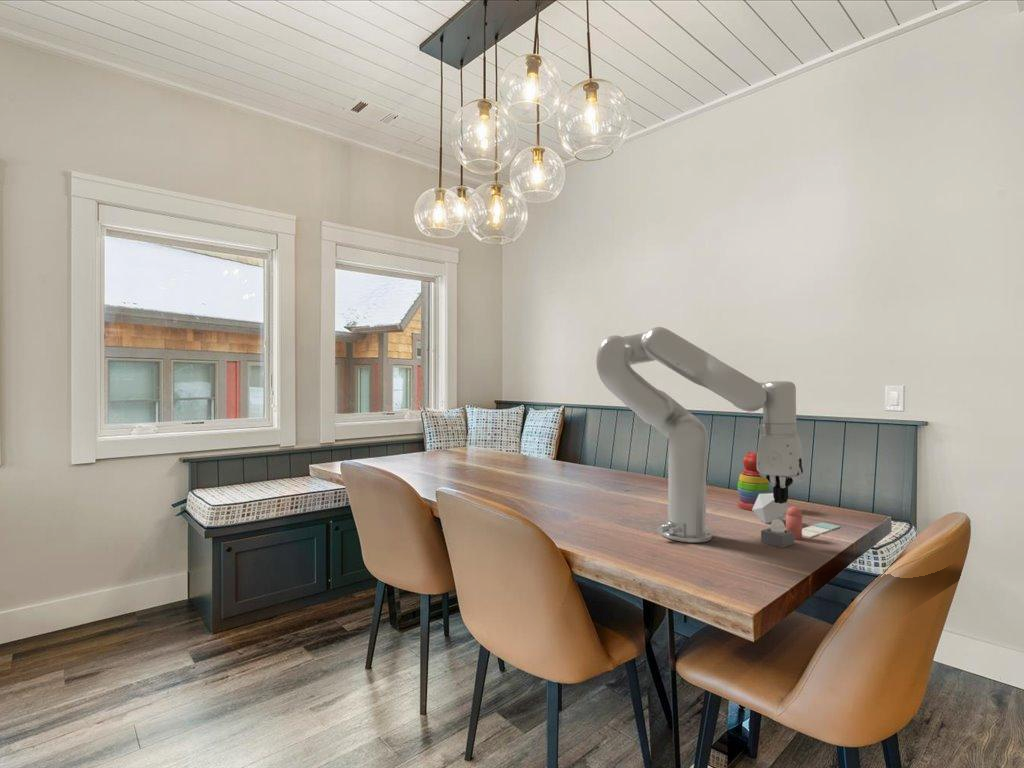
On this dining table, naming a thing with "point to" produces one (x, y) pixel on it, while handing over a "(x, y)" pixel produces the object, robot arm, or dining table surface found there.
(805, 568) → the dining table surface
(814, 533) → the track
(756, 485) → the stacking bear
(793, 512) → the pawn
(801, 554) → the dining table surface
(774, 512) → the die
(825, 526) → the tile
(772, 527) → the dome
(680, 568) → the dining table surface
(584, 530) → the dining table surface
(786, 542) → the grey square tray
